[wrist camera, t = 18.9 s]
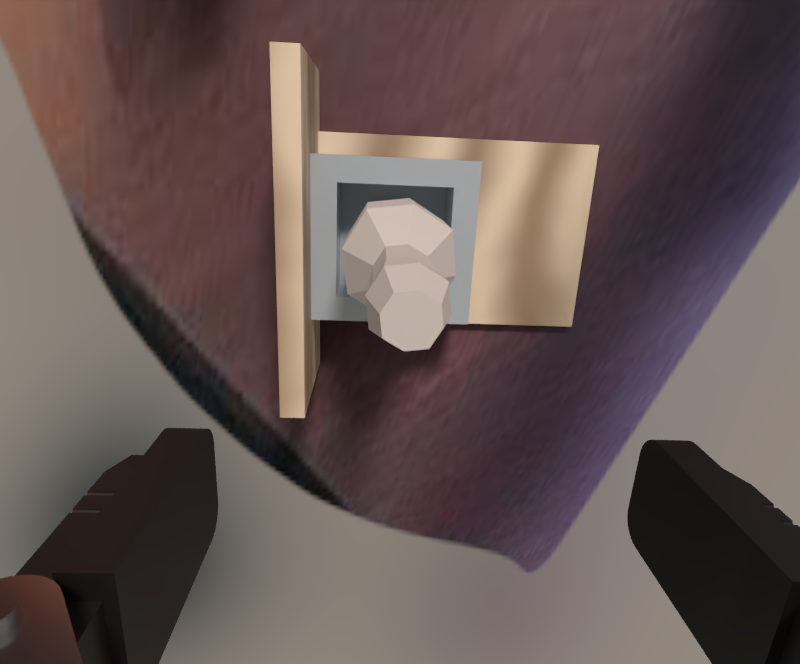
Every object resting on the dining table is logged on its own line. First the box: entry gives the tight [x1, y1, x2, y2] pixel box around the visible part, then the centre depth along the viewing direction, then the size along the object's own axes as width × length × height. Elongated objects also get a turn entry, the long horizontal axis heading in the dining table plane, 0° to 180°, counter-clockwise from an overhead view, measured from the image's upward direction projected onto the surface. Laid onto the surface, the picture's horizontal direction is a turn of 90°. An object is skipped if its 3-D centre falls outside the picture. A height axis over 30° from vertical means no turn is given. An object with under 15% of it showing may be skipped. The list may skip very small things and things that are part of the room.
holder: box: [310, 153, 482, 324], centre depth 38 cm, size 11×11×5 cm
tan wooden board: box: [270, 42, 599, 418], centre depth 37 cm, size 22×22×10 cm
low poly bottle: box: [342, 198, 456, 351], centre depth 29 cm, size 6×6×22 cm
